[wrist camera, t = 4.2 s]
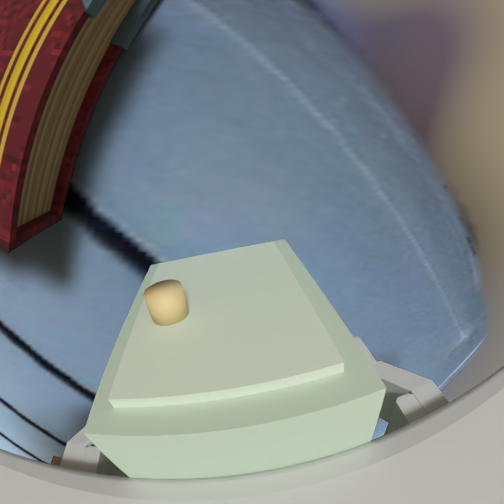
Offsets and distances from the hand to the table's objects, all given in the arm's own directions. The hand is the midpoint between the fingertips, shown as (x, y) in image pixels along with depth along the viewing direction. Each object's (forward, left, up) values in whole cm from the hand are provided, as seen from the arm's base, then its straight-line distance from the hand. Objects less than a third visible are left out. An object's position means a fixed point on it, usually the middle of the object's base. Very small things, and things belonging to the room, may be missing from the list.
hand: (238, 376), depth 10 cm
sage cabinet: (0, 0, -3) cm, 3 cm away
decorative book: (-15, -10, -4) cm, 18 cm away
